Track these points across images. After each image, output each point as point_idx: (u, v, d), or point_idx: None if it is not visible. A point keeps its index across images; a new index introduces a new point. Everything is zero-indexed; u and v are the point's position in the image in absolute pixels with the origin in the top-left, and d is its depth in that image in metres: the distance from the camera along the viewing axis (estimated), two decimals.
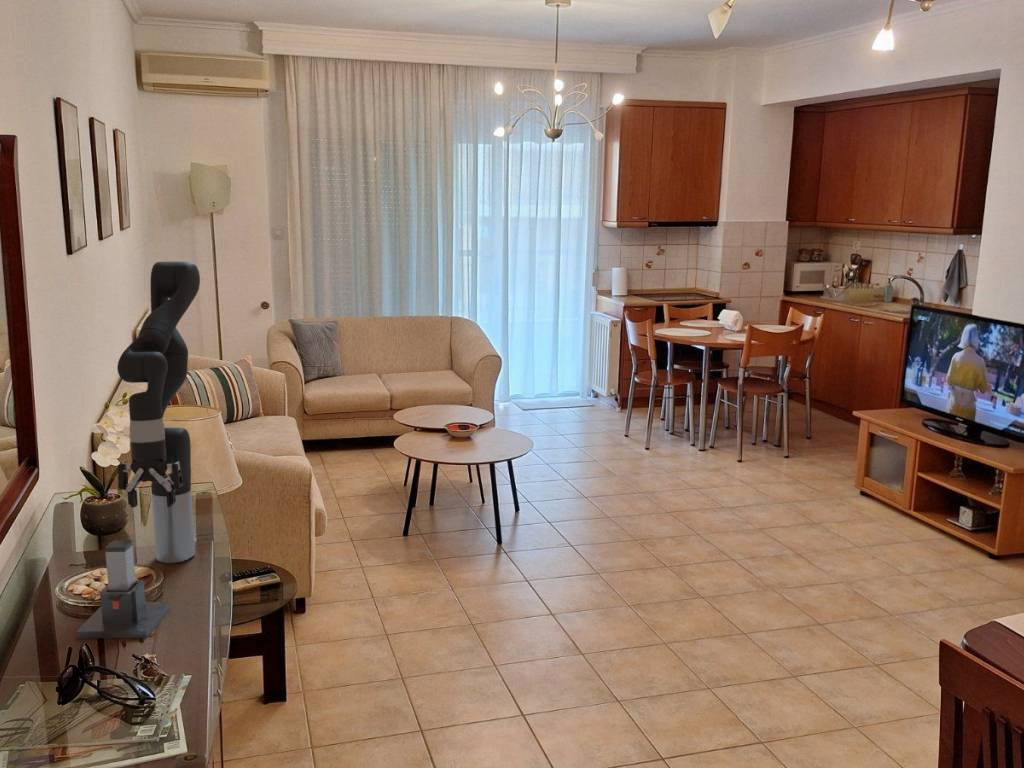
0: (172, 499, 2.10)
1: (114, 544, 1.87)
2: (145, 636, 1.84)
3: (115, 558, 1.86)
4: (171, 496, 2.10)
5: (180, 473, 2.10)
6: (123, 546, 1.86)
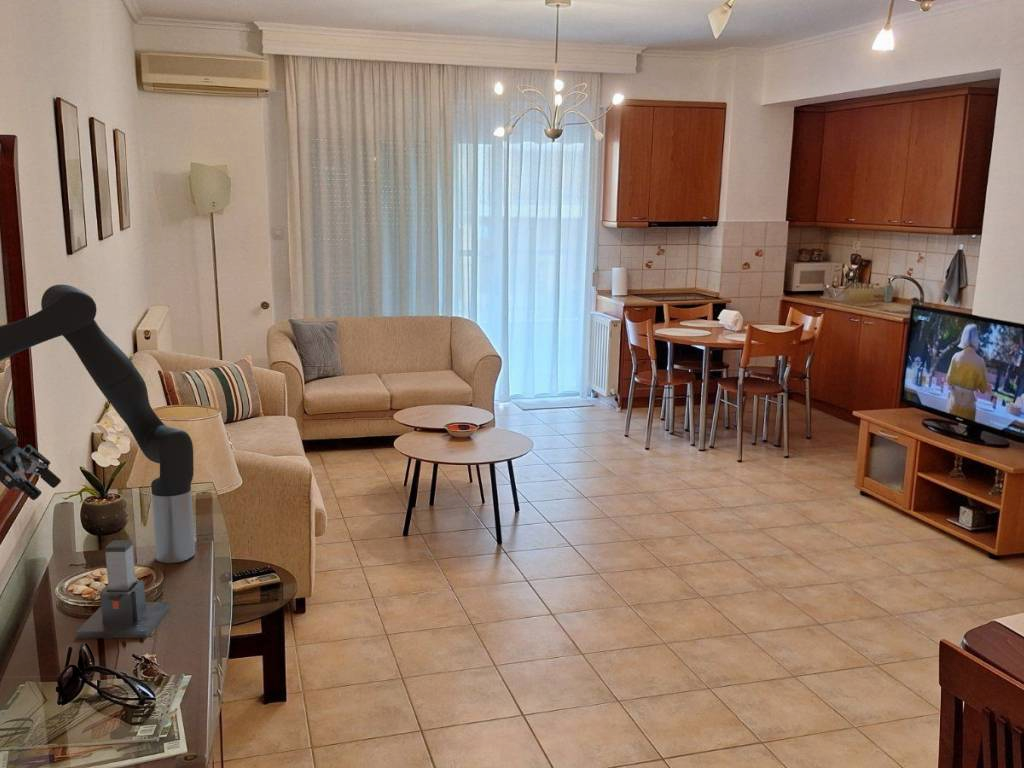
0: None
1: (114, 544, 1.87)
2: (145, 636, 1.84)
3: (115, 558, 1.86)
4: None
5: (2, 473, 1.79)
6: (123, 546, 1.86)
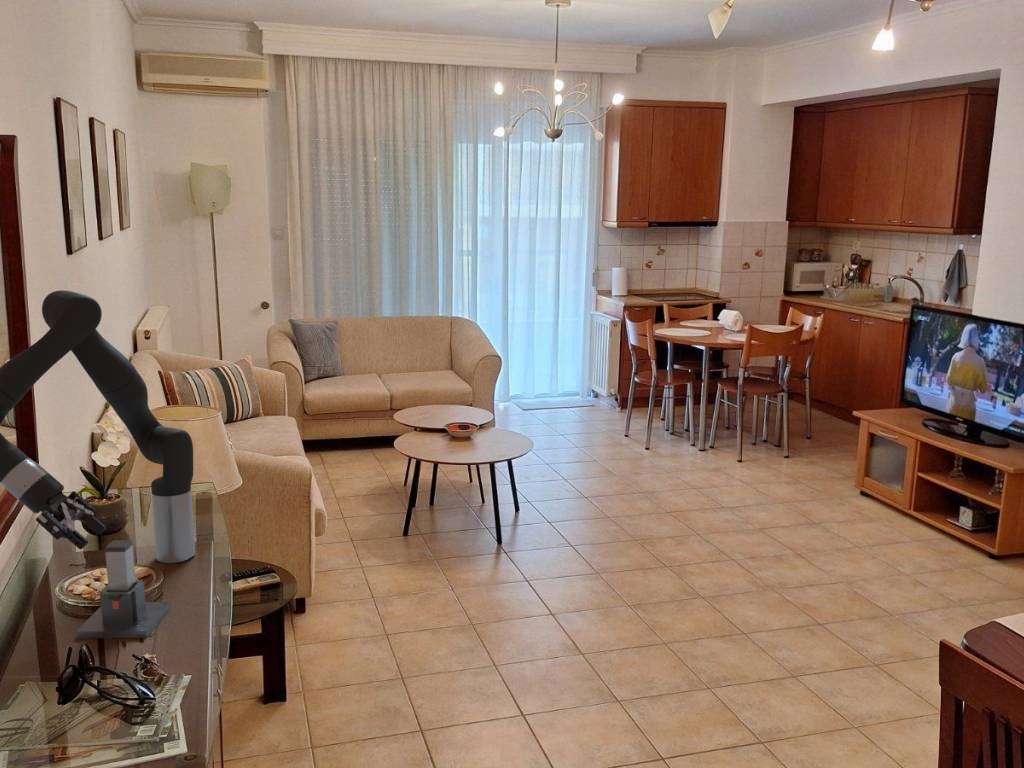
0: None
1: (114, 544, 1.87)
2: (145, 636, 1.84)
3: (115, 558, 1.86)
4: None
5: (50, 523, 1.79)
6: (123, 546, 1.86)
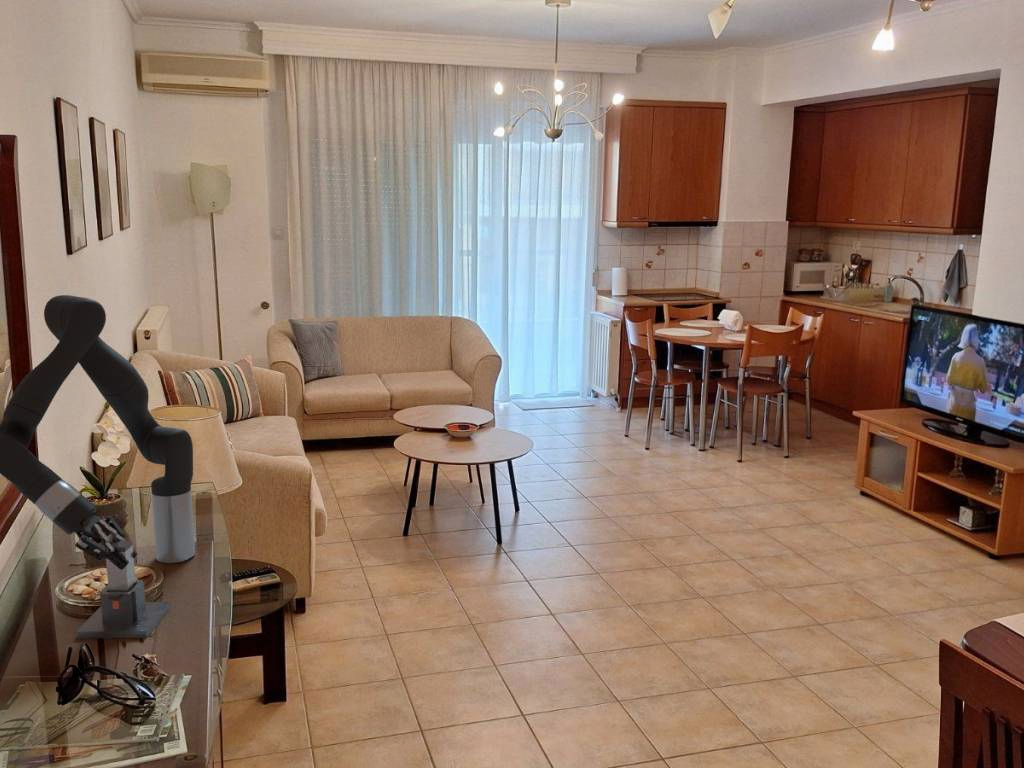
0: None
1: (114, 544, 1.87)
2: (145, 636, 1.84)
3: None
4: None
5: (91, 547, 1.81)
6: (123, 546, 1.86)
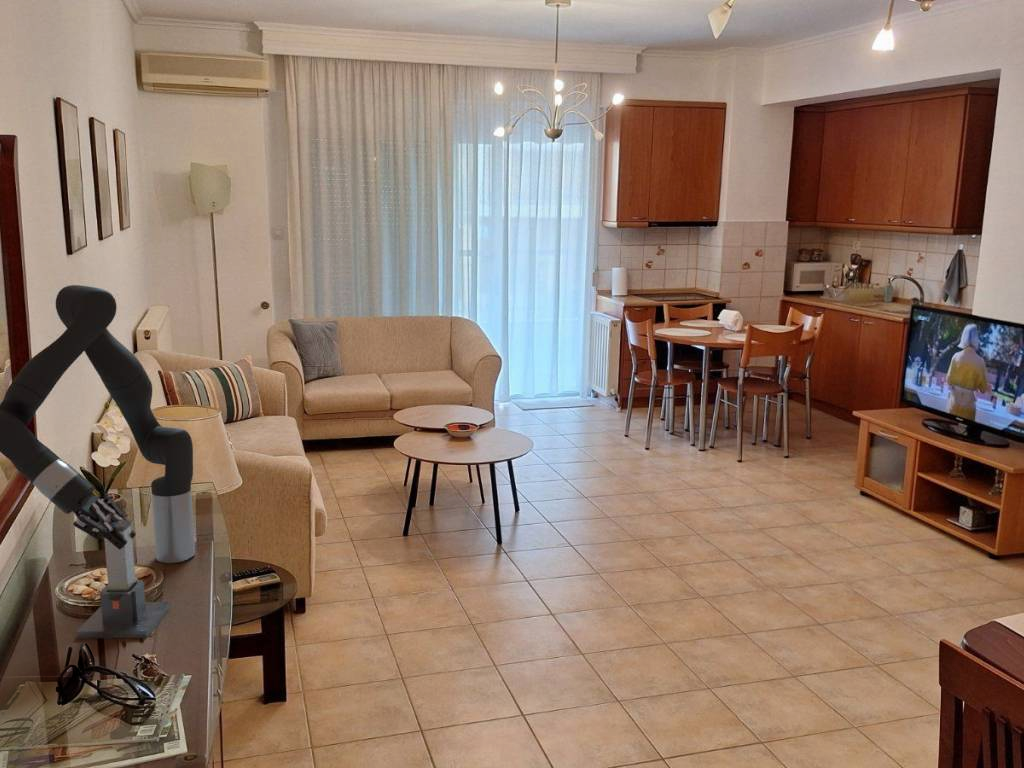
0: None
1: (112, 524, 1.86)
2: (145, 636, 1.84)
3: None
4: None
5: (90, 526, 1.80)
6: (121, 526, 1.85)
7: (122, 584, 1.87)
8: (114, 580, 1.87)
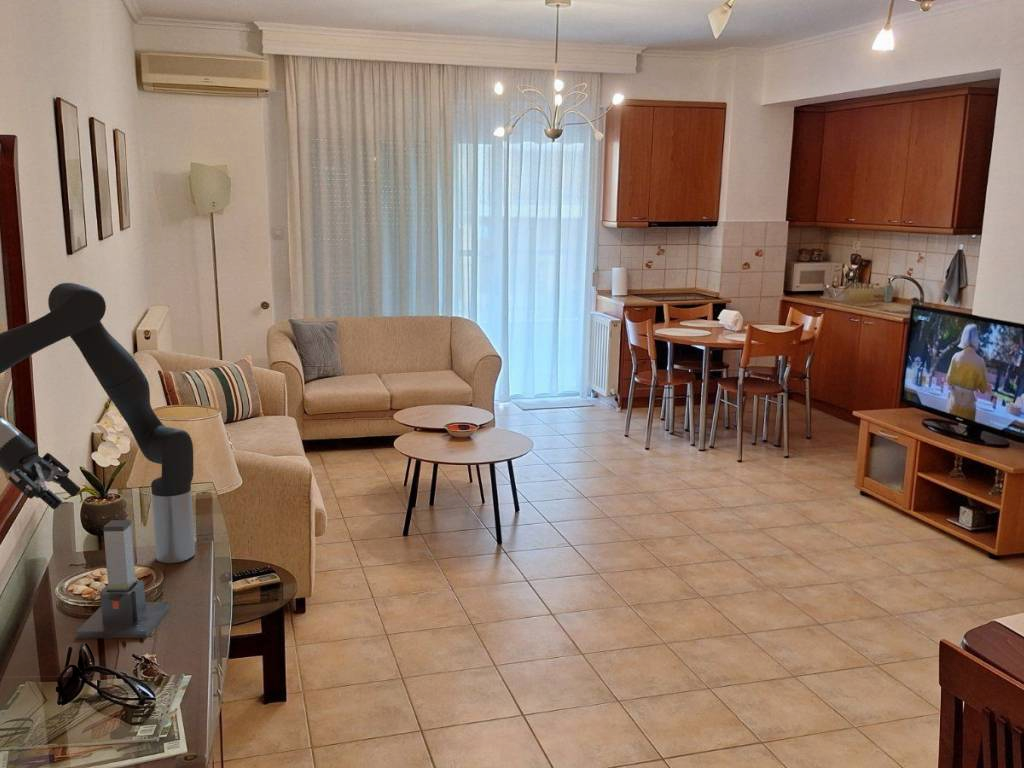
0: None
1: (112, 523, 1.86)
2: (145, 636, 1.84)
3: (113, 537, 1.85)
4: None
5: (23, 482, 1.77)
6: (121, 525, 1.85)
7: (122, 584, 1.87)
8: (114, 580, 1.87)
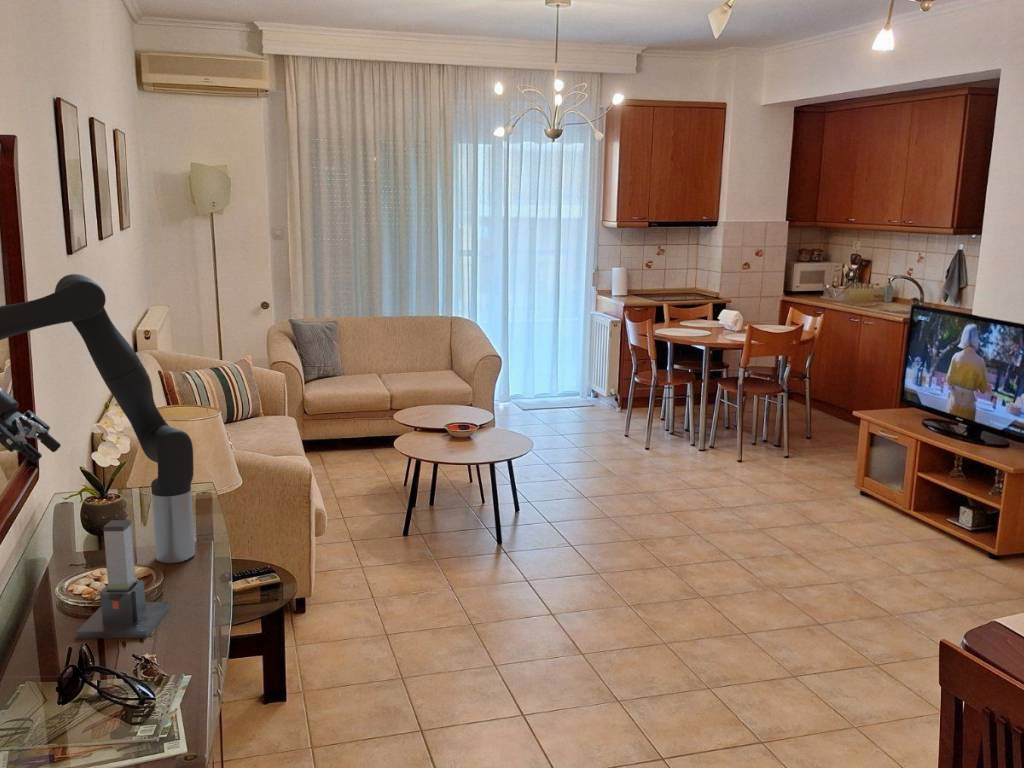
0: (27, 456, 1.86)
1: (112, 523, 1.86)
2: (145, 636, 1.84)
3: (113, 537, 1.85)
4: None
5: (3, 436, 1.84)
6: (121, 525, 1.85)
7: (122, 584, 1.87)
8: (114, 580, 1.87)
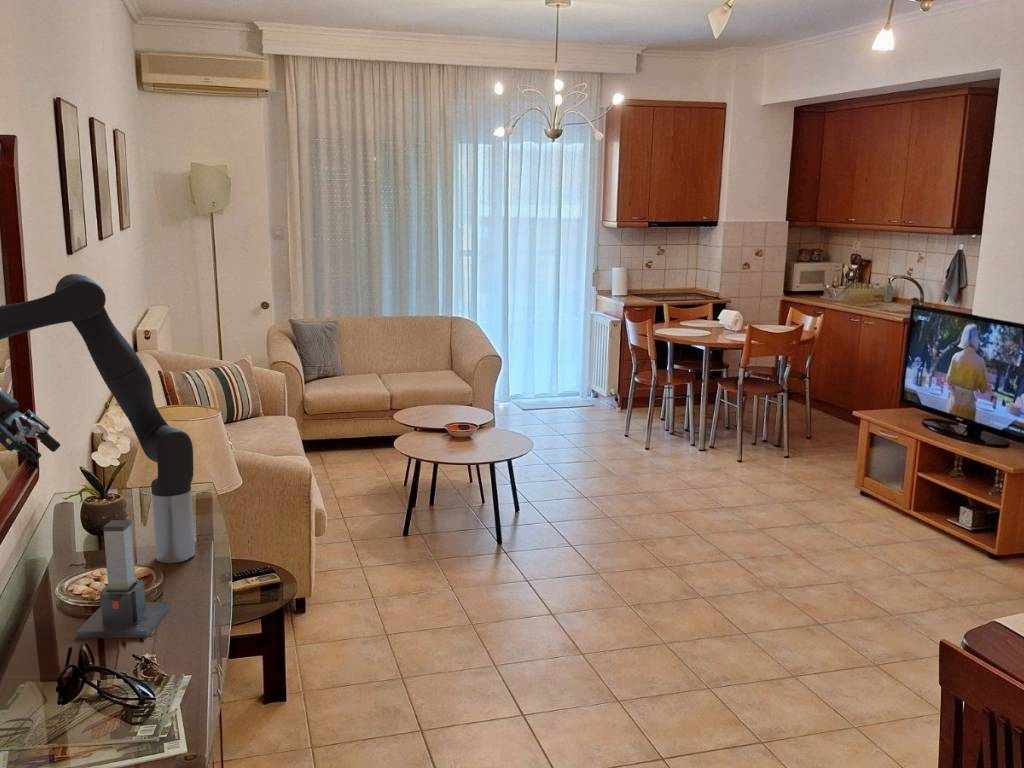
0: (27, 456, 1.86)
1: (112, 523, 1.86)
2: (145, 636, 1.84)
3: (113, 537, 1.85)
4: None
5: (3, 435, 1.84)
6: (121, 525, 1.85)
7: (122, 584, 1.87)
8: (114, 580, 1.87)
